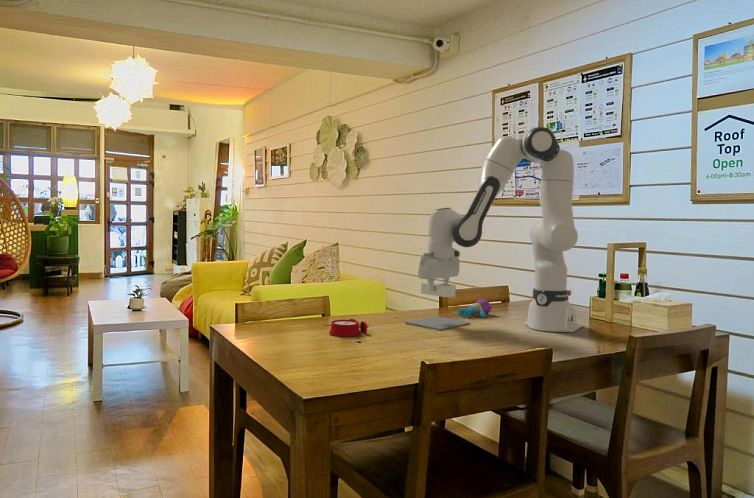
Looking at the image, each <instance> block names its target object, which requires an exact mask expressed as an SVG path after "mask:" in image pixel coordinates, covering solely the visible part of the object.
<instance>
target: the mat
mask: <svg viewBox="0 0 754 498" xmlns="http://www.w3.org/2000/svg"><path fill="white" fill-rule="evenodd" d="M404 324H405V325H410V326H413V327H414V326H416V327H420V328H425V329H430V330H431V329H432V330H435V331H443V330H444V331H445V330H449V329H454V328H459V327H462V326H463V327H464V326H468V325H470V324H471V322H469V321H465V320H458V319H452V318H447V317H442V316H431V317H425V318H419V319H414V320H413V319H412V320H409V321H405V322H404Z"/></svg>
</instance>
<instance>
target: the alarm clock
mask: <svg viewBox="0 0 754 498" xmlns="http://www.w3.org/2000/svg"><path fill="white" fill-rule="evenodd" d="M323 326H324V327H330V329H329V332H328V334H329V335H330V337H333V336H336V337H343V338H344V337H349V338H350V337H357V336H360V335H361V334H362V333H363V334H364V335H366V334H367V331H368V328H369V327H370V325H369V324H367V322H366V321H361V322H360V323H359V321H357V320H356V319H355V318H350V319H335V320H332V321H331V324H328V325H327V324H324V325H323Z"/></svg>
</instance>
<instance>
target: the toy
mask: <svg viewBox="0 0 754 498" xmlns="http://www.w3.org/2000/svg"><path fill="white" fill-rule="evenodd" d="M492 310H493V306H491V303H490V302H489V301H488V300H487V299H484V298H482V299H479V300H478V301H476V303H472V304H469V306H468V307H467V308H460V309H458V317H460V316H463V317H465V319H469V318H470V317H471V315H472V316H474V315H478V316H479V317H482V318H486V317H487V315H489V314H490V311H492Z"/></svg>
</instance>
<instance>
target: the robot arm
mask: <svg viewBox="0 0 754 498" xmlns="http://www.w3.org/2000/svg"><path fill="white" fill-rule="evenodd" d="M521 161H523V162H530V163H536V162H538V163H539V164H540V168H541V178H540V179H541V180H540V190H539V206H540V207H541V213H542V220H539V221H538V222H536V223H534V225H532V227H531V228H530V231H529V238H530V241H531V243H532V245H531V246H532V253H533V259H534V288H533V289H532V299H533V300H532V301H531V302H530V303H529V307H528V312H527V313H528V316H527V320H526V321H524V325H526V326H527V327H528V328H530V329H532V330H537V331H542V332H543V331H544V332H554V333H555V332H556V333H559V332H564V333H574V332H576V331H577V330H579V329H580V328H582V327H583V326H584V325H583V323H582V322H578V321H577V309H575V307H574V306H573V305H572V304H571V302H570V301H569V299H570V298H569V296H571V295H572V290H571V289H569V290H568V289H567V281H568V280H567V279H568V267H567V264H566V260H565V257H564V252H566V251H569V250H571V249H572V248H574V247H575V246H576V244H577V242H578V239H579V235H578V234H579V233H578V230H577V229H576V227H575V221H574V213H573V194H574V193H573V191H574V179H575V178H574V177H575V169H574V158H573V155H572V153H571V152H569V151H567V150H565V149H561V147H560V144H559V143H558V141H557V138H556V136H555V134H554V132H552V130H551V129H549V128H547V127H544V126H537V127H533V128H532V129H530V130H528V131H527V132H525V134H523V136H521V137H520V138H515V137H514V136H513V137H512V136H507V135H505V136H501V137H500V138H498V139H497V141H496V142H495V143H494V144H493V146H492V147H491V149H490V150H489V152H488V153H487V156H486V157H485V159H484V161H483V162H482V165H481V167H480V171H479V173H478V177H477V180H478V186H477V190H476V191H477V192H476V194H475V196H474V198H473V200H472V201H471V204H470V205H469V207H468V210H467V211H466V213H465V214H464V215H463V214H460V213H458V212H456V211H455V210H453V208H452V207H443V208H442V207H441V208H437V209H433V210H432V211H431V213H430V215H429V221H428V230H427V231H428V237H429V239H428V242H427V252H425V253H423V254H422V256H421V257H420V259H419V260H420V261H419V264H418V271H417V276H418V278H419V280H427V282H428V283H429V285H430V291H436V286H435V285H434V282H436V279H442V283H443V284H448V283H449V281H450V278H452V277H458V276H459V273H460V266H461V265H460V257H461V251H459V250H458V249H456V248H453V243H454V242H455V243H456V244H457V245H458V246H460V247H462V248H472V247H473V246H474V247H475V246H476V245H477V244H478V243H479V242H480V240H481V238H482V234H483V223H484V220H485V218H486V216H487V214H488V212H489V210H490V208H491V206H492V205H493V202H494V201H495V198H496V197H498V195H499V194H500V193H501V192H502V191H503V189H504V188H505V186H506V185H507V184H508V182H509V180H511V178H512V176H513V173H514V172H515V170H516V168H517V166H518V165H519V163H520V162H521Z"/></svg>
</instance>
